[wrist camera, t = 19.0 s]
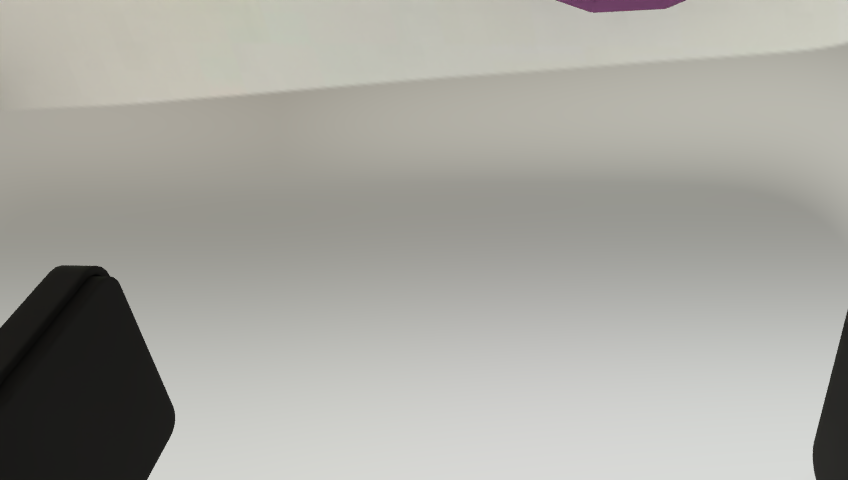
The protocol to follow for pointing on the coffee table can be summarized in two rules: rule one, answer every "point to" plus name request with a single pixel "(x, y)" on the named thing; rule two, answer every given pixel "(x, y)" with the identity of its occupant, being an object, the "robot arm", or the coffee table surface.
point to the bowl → (620, 4)
